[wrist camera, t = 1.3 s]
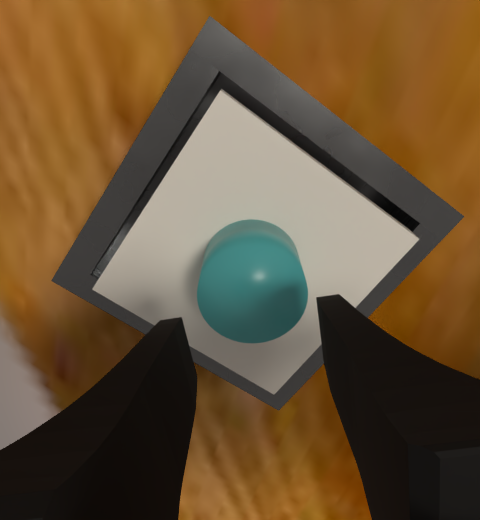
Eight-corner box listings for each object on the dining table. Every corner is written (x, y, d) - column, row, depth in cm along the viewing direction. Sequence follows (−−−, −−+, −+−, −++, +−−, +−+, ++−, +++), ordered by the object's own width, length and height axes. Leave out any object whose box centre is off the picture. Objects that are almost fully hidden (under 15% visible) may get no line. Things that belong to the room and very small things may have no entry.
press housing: (425, 190, 21) (464, 216, 17) (273, 359, 25) (278, 410, 21) (216, 25, 18) (209, 15, 15) (82, 245, 22) (51, 280, 19)
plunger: (410, 229, 17) (448, 267, 14) (272, 379, 20) (278, 439, 17) (221, 88, 15) (215, 95, 12) (99, 277, 18) (68, 323, 15)
